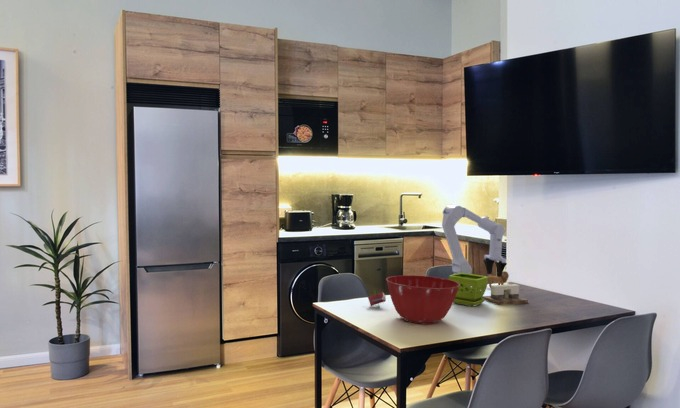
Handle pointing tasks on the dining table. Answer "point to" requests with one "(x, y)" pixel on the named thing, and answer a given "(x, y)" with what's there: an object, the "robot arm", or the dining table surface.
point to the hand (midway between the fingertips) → (494, 275)
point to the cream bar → (500, 288)
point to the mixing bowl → (422, 297)
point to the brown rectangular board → (505, 299)
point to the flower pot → (469, 288)
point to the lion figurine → (498, 279)
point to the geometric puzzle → (377, 298)
